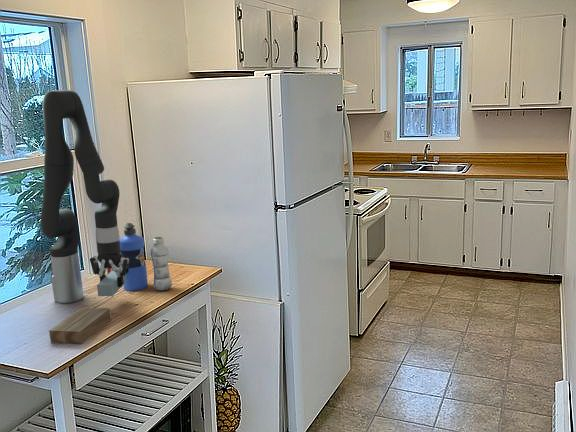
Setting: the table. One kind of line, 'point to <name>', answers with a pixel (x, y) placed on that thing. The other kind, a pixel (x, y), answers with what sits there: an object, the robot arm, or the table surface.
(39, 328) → the table surface
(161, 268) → the plastic bottle
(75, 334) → the floorboards
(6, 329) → the table surface
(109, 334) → the table surface
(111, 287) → the slate plank
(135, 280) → the water bottle
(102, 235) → the robot arm
